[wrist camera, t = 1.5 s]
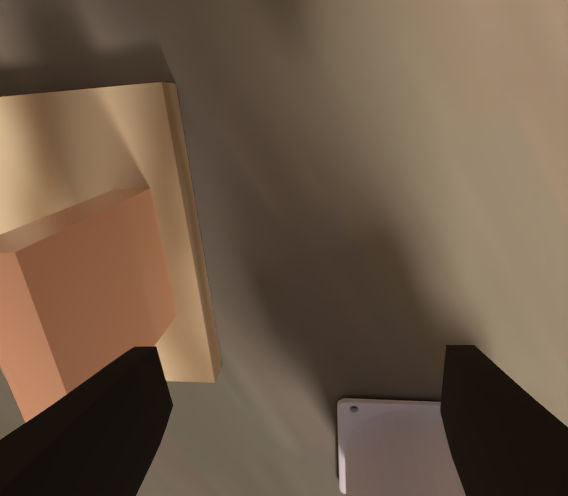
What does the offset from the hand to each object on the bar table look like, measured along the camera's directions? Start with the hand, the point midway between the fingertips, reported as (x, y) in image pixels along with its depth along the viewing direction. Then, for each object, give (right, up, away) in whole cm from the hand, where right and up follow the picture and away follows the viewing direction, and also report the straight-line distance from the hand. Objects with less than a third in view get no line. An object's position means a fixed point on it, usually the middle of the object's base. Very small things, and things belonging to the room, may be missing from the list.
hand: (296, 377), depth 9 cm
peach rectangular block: (-7, +3, +10) cm, 12 cm away
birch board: (-12, +3, +12) cm, 17 cm away
